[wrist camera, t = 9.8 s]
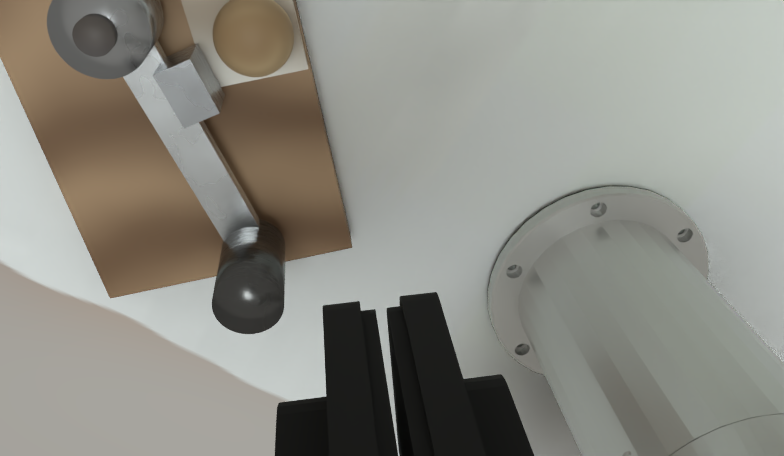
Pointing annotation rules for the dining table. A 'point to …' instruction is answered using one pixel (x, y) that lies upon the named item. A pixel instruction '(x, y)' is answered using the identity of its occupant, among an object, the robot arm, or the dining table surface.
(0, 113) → the dining table surface
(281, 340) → the dining table surface
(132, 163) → the board
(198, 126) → the lever
